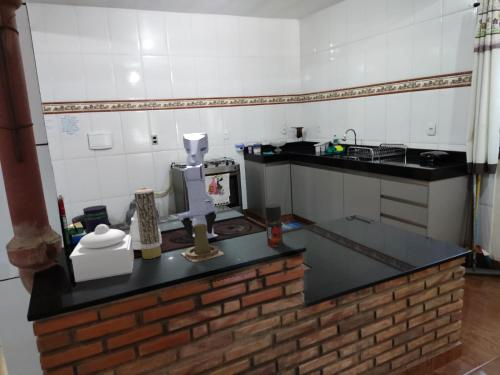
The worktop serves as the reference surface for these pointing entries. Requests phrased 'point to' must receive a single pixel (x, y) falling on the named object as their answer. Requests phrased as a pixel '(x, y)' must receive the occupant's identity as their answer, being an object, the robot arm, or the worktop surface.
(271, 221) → the deodorant
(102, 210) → the storage jar
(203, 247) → the khaki cylinder
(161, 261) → the worktop surface
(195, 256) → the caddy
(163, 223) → the worktop surface
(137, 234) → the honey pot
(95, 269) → the butter dish
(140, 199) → the wooden log
